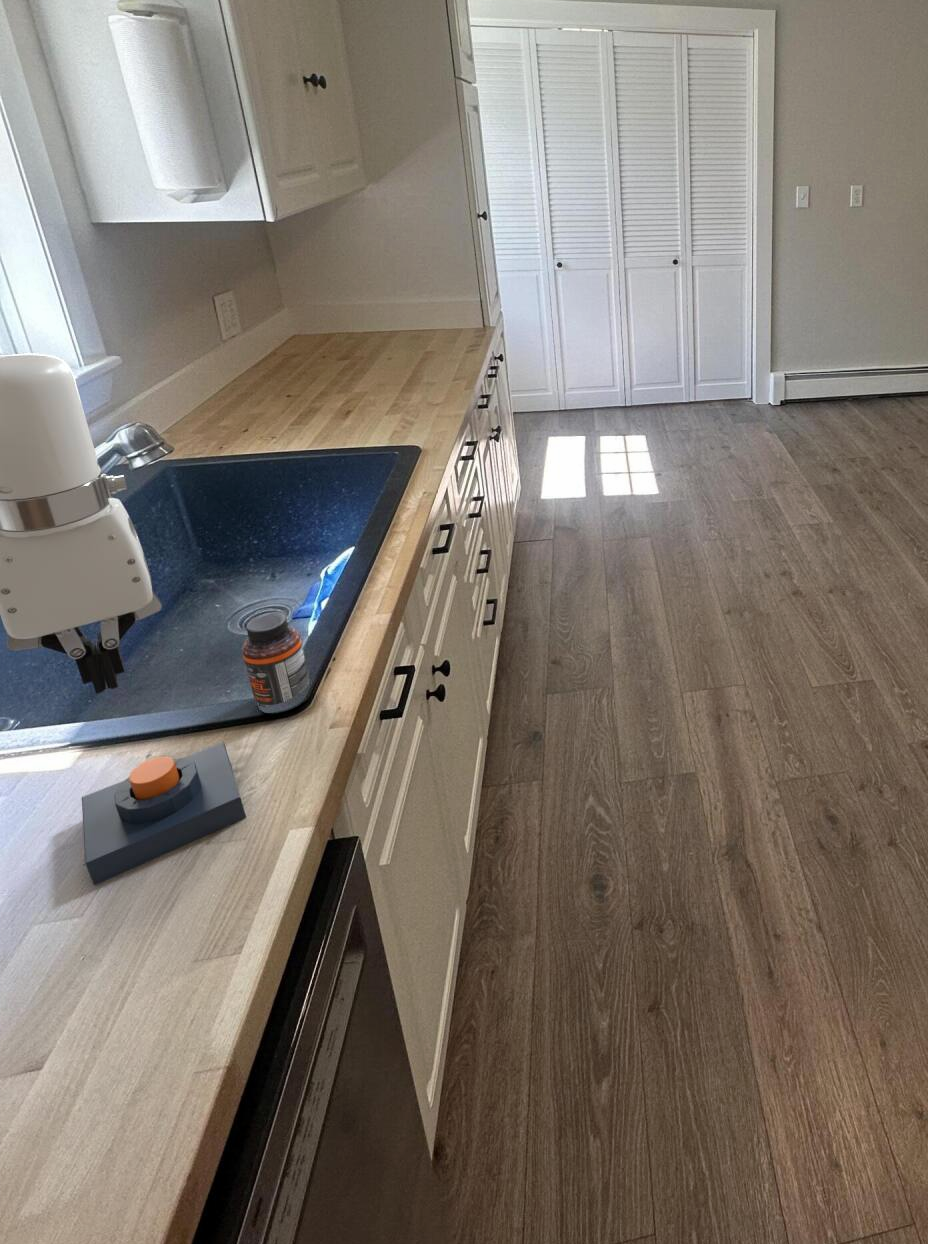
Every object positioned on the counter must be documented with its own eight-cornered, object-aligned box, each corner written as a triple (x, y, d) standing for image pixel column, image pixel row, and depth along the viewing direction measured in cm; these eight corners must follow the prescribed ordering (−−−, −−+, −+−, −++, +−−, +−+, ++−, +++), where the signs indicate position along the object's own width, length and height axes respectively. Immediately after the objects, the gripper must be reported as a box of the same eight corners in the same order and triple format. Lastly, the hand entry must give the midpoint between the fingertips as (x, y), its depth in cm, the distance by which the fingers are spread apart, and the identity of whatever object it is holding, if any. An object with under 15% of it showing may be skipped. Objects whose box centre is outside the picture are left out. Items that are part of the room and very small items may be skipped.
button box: (93, 886, 71) (79, 848, 70) (89, 817, 78) (75, 782, 77) (246, 818, 78) (236, 782, 77) (229, 761, 86) (219, 727, 84)
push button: (136, 806, 75) (130, 789, 74) (133, 784, 77) (127, 767, 76) (181, 788, 77) (176, 771, 76) (177, 766, 79) (172, 750, 79)
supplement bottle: (244, 709, 93) (223, 628, 89) (289, 680, 98) (270, 602, 94) (281, 723, 91) (260, 640, 87) (324, 692, 96) (306, 612, 92)
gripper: (155, 469, 74) (198, 636, 80) (-68, 509, 65) (0, 694, 71) (162, 495, 68) (208, 672, 74) (-80, 543, 59) (-5, 740, 65)
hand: (106, 682), depth 73 cm, fingers closed
